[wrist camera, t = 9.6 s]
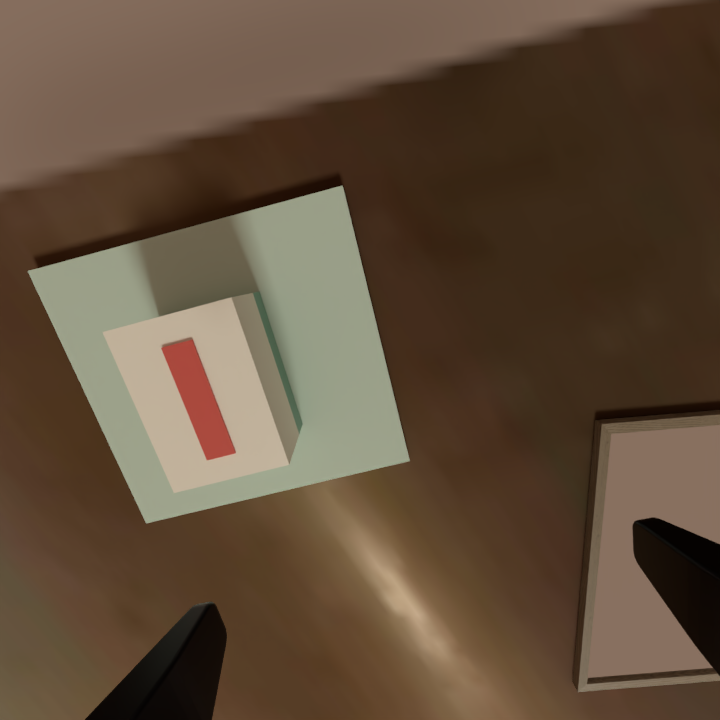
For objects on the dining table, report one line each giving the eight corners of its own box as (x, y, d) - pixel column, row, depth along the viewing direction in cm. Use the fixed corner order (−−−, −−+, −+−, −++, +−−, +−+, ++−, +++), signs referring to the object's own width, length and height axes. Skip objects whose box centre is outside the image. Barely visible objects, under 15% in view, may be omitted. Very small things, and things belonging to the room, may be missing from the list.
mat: (343, 188, 16) (342, 185, 16) (408, 455, 20) (409, 460, 19) (38, 271, 17) (27, 271, 16) (152, 516, 20) (146, 523, 20)
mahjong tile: (302, 424, 18) (288, 465, 14) (211, 446, 19) (172, 494, 15) (259, 291, 17) (230, 297, 13) (160, 318, 17) (100, 332, 13)
